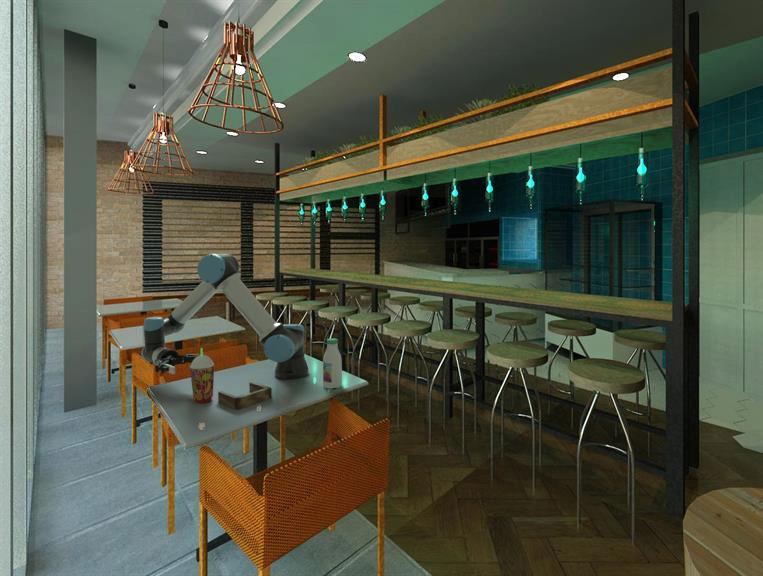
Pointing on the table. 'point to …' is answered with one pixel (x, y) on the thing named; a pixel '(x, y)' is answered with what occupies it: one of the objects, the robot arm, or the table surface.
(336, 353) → the milk bottle
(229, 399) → the holder
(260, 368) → the table surface
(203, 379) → the smoothie
